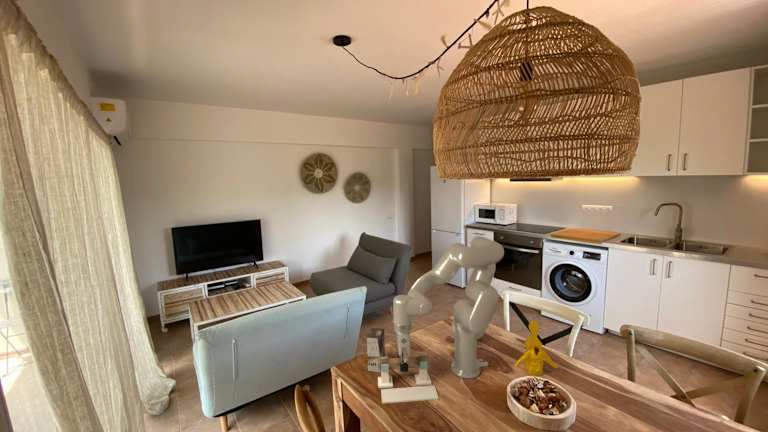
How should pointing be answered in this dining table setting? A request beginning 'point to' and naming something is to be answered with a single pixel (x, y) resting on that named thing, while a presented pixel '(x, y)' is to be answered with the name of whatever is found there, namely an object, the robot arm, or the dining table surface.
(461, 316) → the robot arm
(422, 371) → the toy blocks
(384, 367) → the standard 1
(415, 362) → the rail
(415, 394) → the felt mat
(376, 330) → the coffee box
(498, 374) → the dining table surface
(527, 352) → the figure statuette
